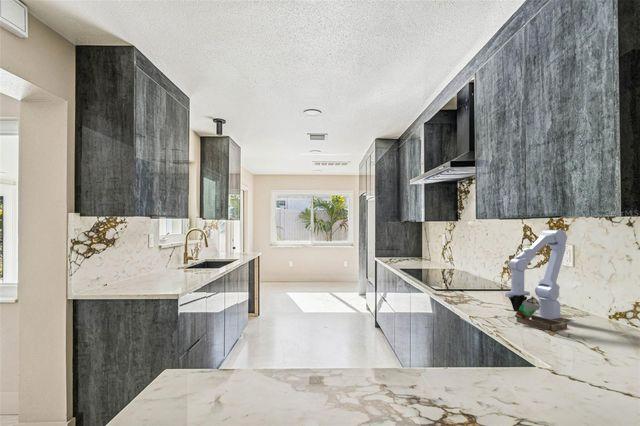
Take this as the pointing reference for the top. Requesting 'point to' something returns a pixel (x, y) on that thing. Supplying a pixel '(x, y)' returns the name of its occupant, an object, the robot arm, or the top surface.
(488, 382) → the top surface
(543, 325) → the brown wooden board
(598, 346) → the top surface
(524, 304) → the food container
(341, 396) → the top surface
